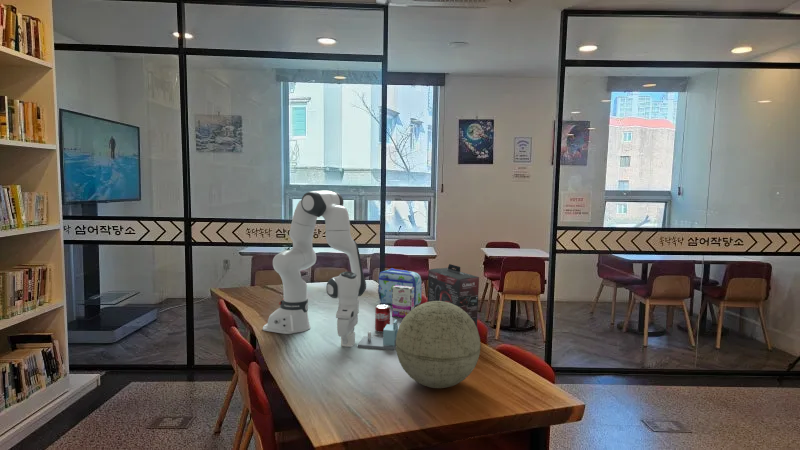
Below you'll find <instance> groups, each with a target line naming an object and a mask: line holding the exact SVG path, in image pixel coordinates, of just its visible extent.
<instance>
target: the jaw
mask: <svg viewBox="0 0 800 450" xmlns="http://www.w3.org/2000/svg"><path fill="white" fill-rule="evenodd" d="M347 339H348V343H347V344H343V339H342V337H340V346H341V347H346V348H347V347H348V348H349V347H351V348H352V347H353V346H354V345H355V344H356V332H355V331H354V332H350V333H349V334H348V335H347Z"/></svg>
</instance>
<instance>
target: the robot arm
mask: <svg viewBox="0 0 800 450" xmlns="http://www.w3.org/2000/svg"><path fill="white" fill-rule="evenodd" d="M320 217H322V218H323V220H324V222H325V226H324V227H325V240H326V243H327V244H328V245H329V246H330V247H331V249H334V250H336V251H339V252H342V253H344V254H346V256H347V257H348V259H349V265H350V270H351V271H343V272H341V273H340V274H339V275H338V276H334V277H332V278H329V280H328V281H327V282H326V293H327V295H328V296H329V297H330V298H331V299H338V304H337V305H338V307H337V311H336V313H335V318H336V319H337V321H336V326H337V327H336V328H337V336H338V337H340V338H341V337H342V339H343V344H347V343H348V339H347V335H348V334H349V333H350V332H355V327H356V326H357V324H358V321H359V312H360V311H359V297H361V296H363V294H364V293H365V291H366V289H367V282H366V279H365V276H364V271H363V266H362V265H363V264H362V259H361V255H360V249H359V247H358V244H357V242H356V241H355V240H354V239H353V237H352V235H351V223H350V222H351V221H350V215H349V211H348V209H347V208H346V207H345V206H344V198H343V196H342V194H340V193H339V192H337V191H333V190H327V189H326V190H325V189H322V190H312V191H311V190H310V191H308V192H306V193H304V194H303V195H302V197H301V200H299V201H298V203H297V204H296V207H295V208H294V212H293V215H292V219H291V220H292V221H291V224H290V227H289V228H290V229H289V231H288V232H289V233H288V236H289V238H290V240H291V241H292V248H291V249H287V250H283V251H281V252H279V253H277V254H276V255H275V256H274V257H273V259H272V267H273V269H274V271H275V272H276V273H277V274H278V275H279V276H280V279H281V281H282V286H283V288H282V289H283V298H282V300H280V301H279V302H278V305H279V306H280V307H278V308H277V309H276V310H274V312H272V313H270V315H269V317H268V319H267V323H266V324H264V325H263V326H262V331H265V332H272V333H278V334H283V335H291V334H296V333H302V332H307V331H308V330H310V329H311V325H310V320H309V315H308V310H309V300H308V284H307V282H306V281H305V280H304V279H303V277H302V274H301V271H304V270H307V269H309V268H311V267H313V266H314V265H315V264H316V262H317V254H316V252H315V250H314V248H313V238H314V234H315V233H314V232H315V229H316V224H317V219H318V218H320Z"/></svg>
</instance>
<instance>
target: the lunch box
mask: <svg viewBox="0 0 800 450" xmlns="http://www.w3.org/2000/svg"><path fill="white" fill-rule="evenodd" d="M421 277H422V276H421V275H420V274H419V273H417V272H415V271H411V270H404V269H403V270H402V269H395V268H393V267H391V268H389V269H387V270H383V271H380V272H379V274H378V286H377V287H378V288H377V295H378V299H379V302H380V303H381V305H389V306H390V305H391V306H392V287H393V286H395V285H398V286H409V287H414V307H417V306H418V305H421V304H422V303H421V302H422V291H423V290H422V289H423V288H422V287H423V286H422V278H421Z"/></svg>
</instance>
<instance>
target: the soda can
mask: <svg viewBox="0 0 800 450" xmlns="http://www.w3.org/2000/svg"><path fill="white" fill-rule="evenodd" d="M387 324H391V306H390V305H389V304H378V305H376V306H375V309H374V331H376V332H377V333H380V334H381V333H382V334H383V330H384V328H385V326H386V325H387Z"/></svg>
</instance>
